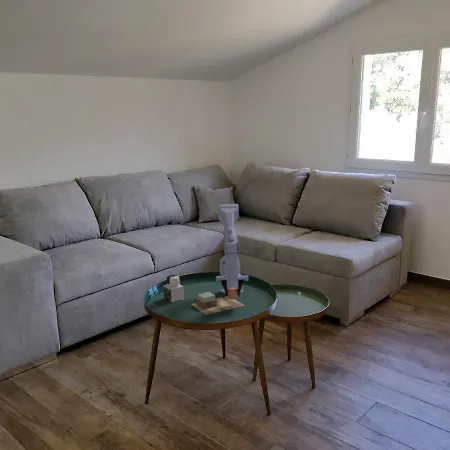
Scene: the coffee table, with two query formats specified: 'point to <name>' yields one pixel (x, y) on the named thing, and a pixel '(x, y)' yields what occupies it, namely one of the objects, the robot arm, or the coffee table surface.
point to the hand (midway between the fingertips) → (232, 295)
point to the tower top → (206, 297)
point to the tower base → (206, 304)
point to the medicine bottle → (173, 289)
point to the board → (220, 305)
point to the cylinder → (232, 293)
